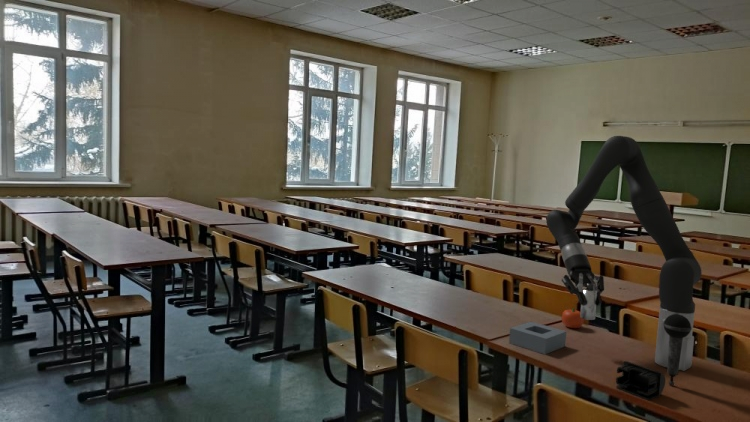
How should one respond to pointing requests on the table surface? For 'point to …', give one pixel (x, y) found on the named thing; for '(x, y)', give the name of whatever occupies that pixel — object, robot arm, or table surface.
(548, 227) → the robot arm
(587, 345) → the table surface
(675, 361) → the microphone
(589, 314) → the silver bottle
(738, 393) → the table surface
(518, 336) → the grey block with hole
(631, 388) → the end cap
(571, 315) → the pumpkin
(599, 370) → the table surface
